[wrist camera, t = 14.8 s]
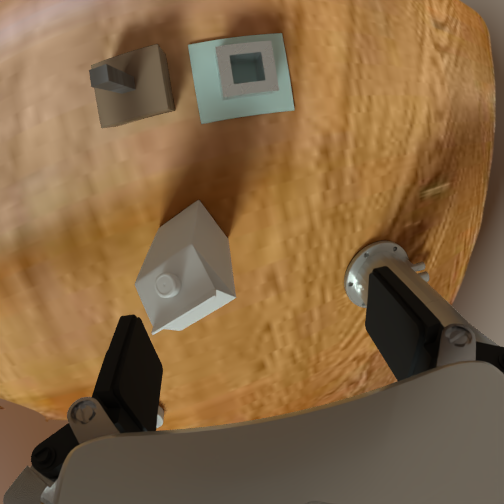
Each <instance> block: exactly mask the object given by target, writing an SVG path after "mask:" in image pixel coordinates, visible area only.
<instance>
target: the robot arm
mask: <svg viewBox="0 0 504 504" xmlns="http://www.w3.org/2000/svg"><path fill="white" fill-rule="evenodd" d="M424 269H425V264H424V262H420V263H416V264H412V263H411V262H410V261H409V259H408V256H407V254H406V252H405V250H404V249H403V248H402V247H401V246H399V245H398V244H396V243H394V242H391V241H378V242H375V243H372V244H370V245H368V246H367V247H365V248H363V249H362V250H361V251H360V252H359V253H358V254H357V255H356V256H355V257H354V258H353V260H352V261H351V263H350V264H349V266H348V269H347V271H346V274H345V279H344V286H345V291H346V294H347V296H348V297H349V299H350V300H351V301H352V302H353V303H354V304H356V305H357V306H360V307H364V308H367V310H366V321H365V326H366V330H367V332H368V334H369V335H370V337H371V338H372V340H373V342H374V343H375V345H376V346H377V348H378V349H379V351H380V353H381V354H382V356H383V358H384V359H385V361H386V362H387V364H388V366H389V367H390V369H391V371H392V372H393V374H394V375H395V377H396V379H397V380H398V382H395V383H392V384H389V385H386V386H384V387H381V388H378V389H375V390H372V391H369V392H366V393H363V394H359V395H356V396H353V397H350V398H346V399H343V400H339V401H336V402H332V403H328V404H325V405H321V406H317V407H313V408H309V409H305V410H301V411H296V412H292V413H287V414H283V415H278V416H273V417H268V418H262V419H257V420H251V421H245V422H238V423H232V424H224V425H217V426H208V427H199V428H188V429H177V430H164V431H156V425H157V415H158V406H159V398H160V389H161V381H162V374H163V368H162V364H161V362H160V360H159V358H158V355H157V353H156V351H155V349H154V347H153V345H152V343H151V341H150V338H149V336H148V334H147V332H146V329H145V327H144V325H143V323H142V320H141V319H140V318H139V317H138V318H137V317H136V316H135V315H127V316H121V317H120V319H119V322H118V325H117V327H116V330H115V333H114V335H113V338H112V341H111V344H110V347H109V349H108V351H107V353H106V355H105V358H104V361H103V364H102V367H101V370H100V373H99V376H98V379H97V382H96V385H95V389H94V392H93V395H92V397H84V398H80V399H78V400H76V401H75V402H74V403H73V404H72V405H71V406H70V408H69V410H68V412H67V419H68V422H69V423H68V424H67V425H65V426H64V427H63V428H61V429H60V430H58V431H57V432H56V433H54V434H53V435H51V436H50V437H49V438H47V439H46V440H44V441H43V442H42V443H40V444H39V445H38V446H37V447H36V448H35V449H34V450H33V452H32V456H31V462H32V466H31V467H29V466H27V467H26V468H25V469H24V470H23V472H22V473H21V474H20V475H19V476H18V478H17V479H16V480H15V481H14V483H13V484H12V485H11V487H10V488H9V489H8V490H7V492H6V493H5V495H4V499H3V503H4V504H504V347H500V346H499V345H497V344H496V343H495V342H493V341H492V340H491V339H489V338H488V337H486V336H485V335H484V334H482V333H481V332H480V331H478V330H477V329H476V328H475V327H474V326H472V325H471V324H470V323H469V322H468V321H467V320H466V319H465V318H463V317H462V316H461V315H460V314H459V313H458V312H457V311H456V310H455V309H454V308H453V307H452V306H451V305H450V304H449V303H448V302H447V301H446V300H445V299H444V298H443V297H442V296H441V295H440V294H439V293H437V292H436V291H435V290H434V289H433V288H432V287H431V286H430V285H429V284H428V283H427V282H428V281H429V275H428V273H427V272H426V271H425V272H421V273H418V274H417V273H416V272H415V271H420V270H424Z"/></svg>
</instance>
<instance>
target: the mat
mask: <svg viewBox="0 0 504 504" xmlns="http://www.w3.org/2000/svg"><path fill="white" fill-rule="evenodd" d="M259 41H271V42H272V48H273V54H274V60H275V66H276V73H277V79H278V86H279V91H276V92H274V93H272V94H270V95H261V96H253V97H245V98H238V99H231V100H225V101H222V97H221V91H220V84H219V78H218V72H217V66H216V59H215V47H216V46H223V45H231V44H239V43H248V42H259ZM188 49H189V55H190V61H191V67H192V73H193V79H194V85H195V91H196V97H197V102H198V108H199V114H200V119H201V124H204V123H210V122H215V121H220V120H226V119H232V118H238V117H245V116H251V115H259V114H266V113H274V112H283V111H293V110H294V103H293V96H292V89H291V83H290V77H289V70H288V64H287V59H286V53H285V47H284V42H283V36H282V33H276V34H262V35H251V36H241V37H233V38H226V39H219V40H213V41H207V42H201V43H196V44H191V45H188ZM231 69H232V75H233V81H234V84H239V83H246V82H255V81H257V77H256V71H255V65H254V62H247V63H239V64H232V65H231Z"/></svg>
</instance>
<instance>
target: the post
mask: <svg viewBox="0 0 504 504" xmlns="http://www.w3.org/2000/svg"><path fill="white" fill-rule="evenodd" d="M91 68H92V69H91V70H89V72H90V80H91V86H92V87H94V89H95V96H96V102H97V107H98V113H99V118H100V124H101V128H107V127H116V126H120V125H123V124H127V123H130V122H133V121H137V120H140V119H144V118H148V117H152V116H155V115H159V114H163V113H167V112H172V111H175V107H174V101H173V95H172V90H171V84H170V78H169V72H168V66H167V59H166V54H165V53H164V52H163V50H162V49H161V48H160V46H159V45H158V44H155V45H152V46H148V47H144V48H141V49H137V50H134V51H131V52H128V53H124V54H121V55H118V56H115V57H112V58H110V59H107V60H104V61H101V62H98V63H96V64H93V65H91Z"/></svg>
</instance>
